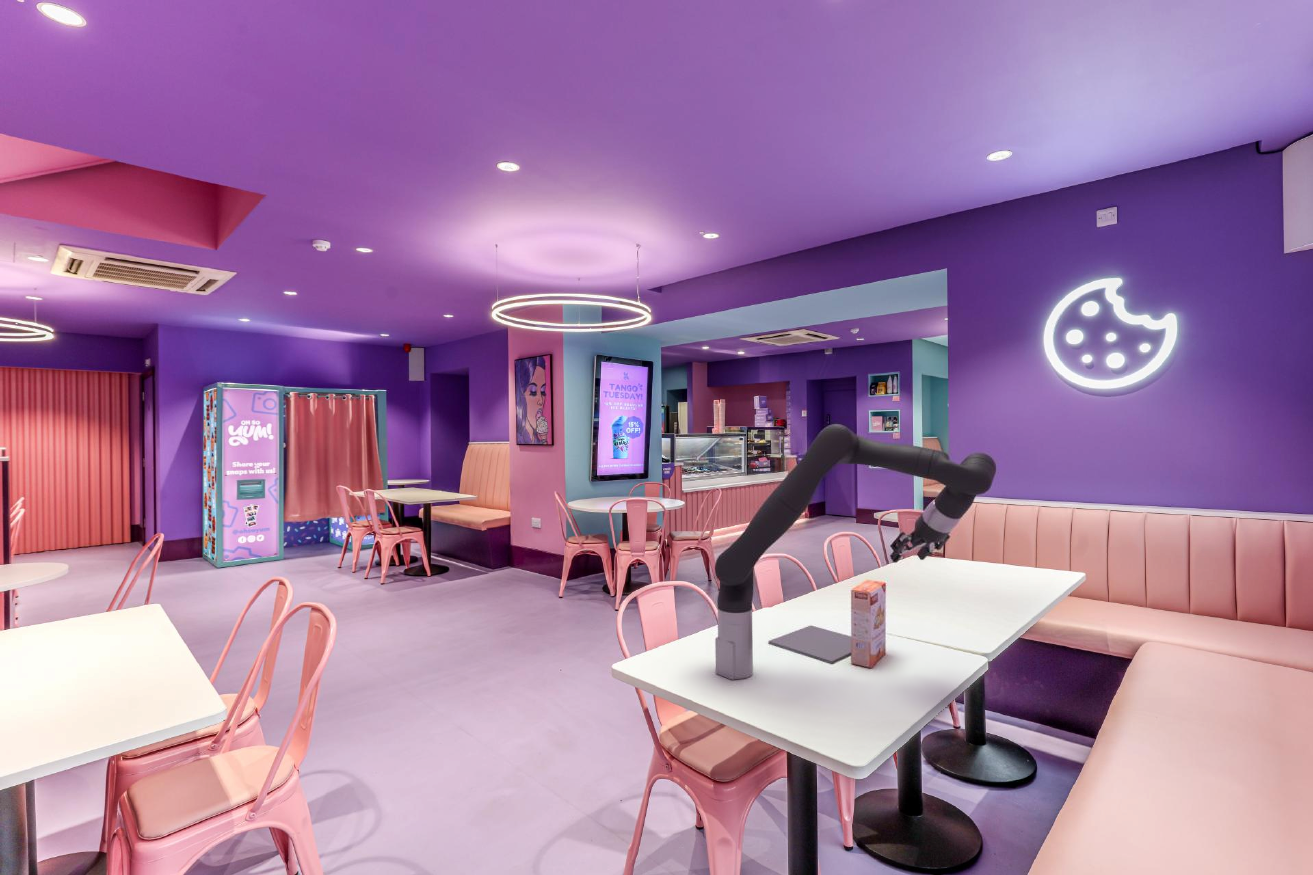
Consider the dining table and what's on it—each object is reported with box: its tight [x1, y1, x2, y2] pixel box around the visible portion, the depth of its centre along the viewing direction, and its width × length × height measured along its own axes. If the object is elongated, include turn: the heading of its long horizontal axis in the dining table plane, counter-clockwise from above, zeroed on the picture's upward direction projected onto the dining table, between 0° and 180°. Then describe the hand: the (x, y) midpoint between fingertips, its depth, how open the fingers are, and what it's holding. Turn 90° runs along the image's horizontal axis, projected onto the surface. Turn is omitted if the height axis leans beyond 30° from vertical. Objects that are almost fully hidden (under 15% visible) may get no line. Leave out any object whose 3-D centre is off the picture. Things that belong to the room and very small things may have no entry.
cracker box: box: [850, 579, 887, 669], centre depth 165 cm, size 14×6×21 cm, turn 143°
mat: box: [767, 625, 851, 665], centre depth 178 cm, size 22×22×1 cm
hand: (906, 558), depth 153 cm, fingers open, 8 cm apart
